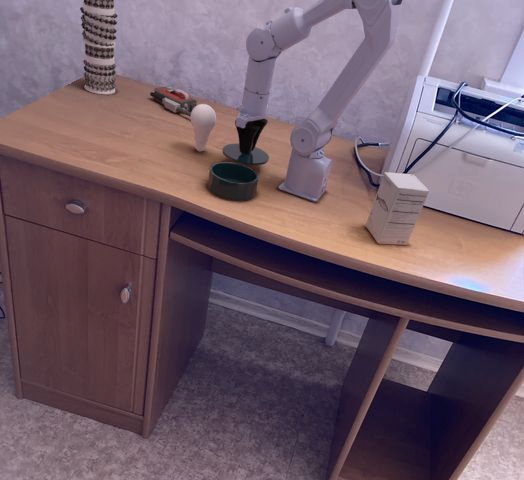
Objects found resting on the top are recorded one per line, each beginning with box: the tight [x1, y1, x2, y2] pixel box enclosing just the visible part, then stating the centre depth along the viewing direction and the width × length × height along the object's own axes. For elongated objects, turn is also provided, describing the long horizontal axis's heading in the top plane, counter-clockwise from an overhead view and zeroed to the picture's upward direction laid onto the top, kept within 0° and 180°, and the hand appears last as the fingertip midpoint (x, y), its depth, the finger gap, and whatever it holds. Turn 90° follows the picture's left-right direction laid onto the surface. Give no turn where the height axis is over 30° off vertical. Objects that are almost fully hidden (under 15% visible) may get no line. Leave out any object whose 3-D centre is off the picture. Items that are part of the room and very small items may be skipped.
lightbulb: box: [189, 103, 217, 153], centre depth 125 cm, size 6×6×11 cm
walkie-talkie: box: [149, 86, 198, 117], centre depth 148 cm, size 9×4×20 cm
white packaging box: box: [365, 171, 430, 246], centre depth 109 cm, size 7×7×13 cm
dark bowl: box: [207, 161, 259, 202], centre depth 115 cm, size 11×11×4 cm
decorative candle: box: [79, 0, 118, 95], centre depth 141 cm, size 9×9×25 cm
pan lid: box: [221, 143, 270, 166], centre depth 124 cm, size 11×11×5 cm
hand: (246, 151), depth 124 cm, fingers closed on pan lid, 2 cm apart
